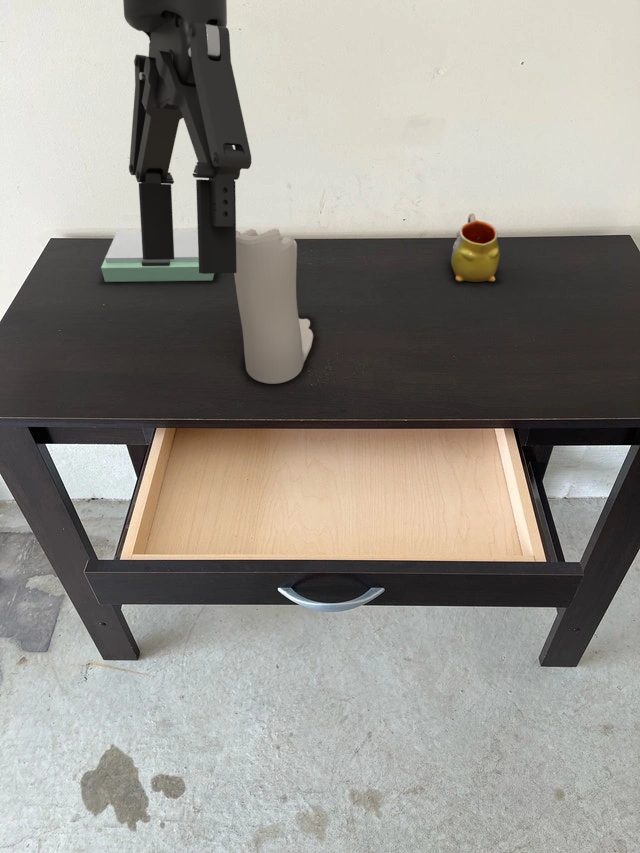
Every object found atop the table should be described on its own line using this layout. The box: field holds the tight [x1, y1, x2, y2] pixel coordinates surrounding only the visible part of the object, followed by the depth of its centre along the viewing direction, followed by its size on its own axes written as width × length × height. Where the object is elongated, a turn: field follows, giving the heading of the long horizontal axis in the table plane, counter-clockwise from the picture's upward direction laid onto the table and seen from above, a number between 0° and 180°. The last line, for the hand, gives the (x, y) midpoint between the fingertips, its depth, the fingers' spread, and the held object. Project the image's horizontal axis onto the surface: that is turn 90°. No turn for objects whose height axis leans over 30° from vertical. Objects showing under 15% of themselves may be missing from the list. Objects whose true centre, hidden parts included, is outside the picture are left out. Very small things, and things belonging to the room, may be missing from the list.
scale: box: [100, 229, 215, 283], centre depth 99 cm, size 16×10×3 cm, turn 89°
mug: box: [450, 212, 501, 283], centre depth 96 cm, size 12×7×7 cm, turn 174°
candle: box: [233, 228, 314, 385], centre depth 78 cm, size 7×14×20 cm, turn 165°
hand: (185, 266), depth 55 cm, fingers open, 13 cm apart
